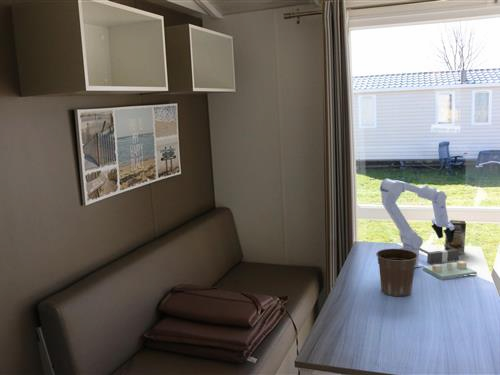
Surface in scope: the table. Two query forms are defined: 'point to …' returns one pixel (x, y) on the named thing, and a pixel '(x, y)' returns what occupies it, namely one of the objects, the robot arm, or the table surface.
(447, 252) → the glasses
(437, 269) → the stand
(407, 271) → the plant pot
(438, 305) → the table surface
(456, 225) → the coffee box
